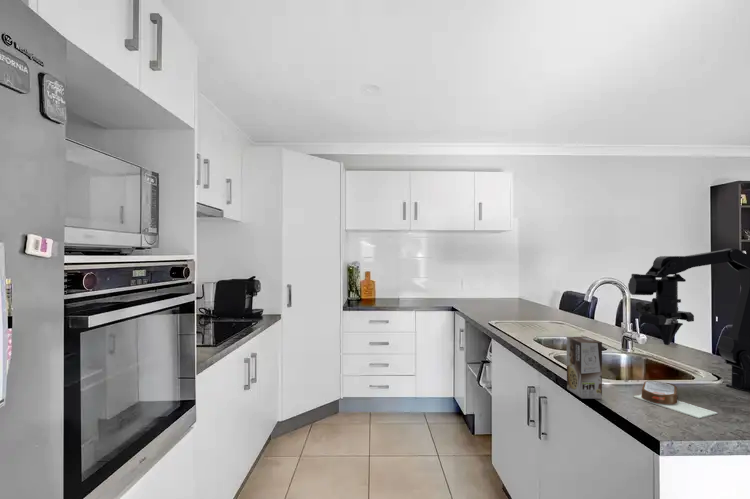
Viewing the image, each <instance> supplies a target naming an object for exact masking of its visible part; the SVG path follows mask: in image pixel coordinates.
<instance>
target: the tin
mask: <svg viewBox="0 0 750 499" xmlns="http://www.w3.org/2000/svg"><path fill="white" fill-rule="evenodd" d="M640 395H641V397H642V398H643V399H645V400H647V401H650V402H654V403H659V404H676V403H677V400H678V396H679V395H678V386H676V385H675V384H673V383H669V382H661V381H656V380H645V381H644V382H643V385H642V388H641V394H640ZM647 401H646V402H647ZM650 402H649V403H650Z"/></svg>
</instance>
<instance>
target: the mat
mask: <svg viewBox="0 0 750 499" xmlns="http://www.w3.org/2000/svg"><path fill="white" fill-rule="evenodd" d="M641 395H642V394H638V395H633V398H635V399H638V400H641V401H644V402H647V403H650V404H653V405H656V406H659V407H662V408H666V409H668V410H671V411H675V412H678V413H681V414H683V415H687V416H690V417H693V418H696V419H700V420H701V419H703V418H707V417H711V416H714V415H718V413H719V412H716V411H714V410H710V409H706V408H704V407H700V406H697V405H694V404H690V403H687V402H684V401H680V400H678V399H677V403H676V404H659V403H654V402H650V401H647V400H645V399H643V398H642V397H641Z"/></svg>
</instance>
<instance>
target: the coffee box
mask: <svg viewBox="0 0 750 499" xmlns="http://www.w3.org/2000/svg"><path fill="white" fill-rule="evenodd" d="M565 339H566V389H567V390H568V391H569V392H571V393H573V394H574V395H576V396H577V397H579V398H580V399H599V400H600V399H601V400H602V398H603V342H602V341H599V340H596V339H594V338H592V337H588V336H566V338H565Z"/></svg>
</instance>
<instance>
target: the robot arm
mask: <svg viewBox="0 0 750 499" xmlns="http://www.w3.org/2000/svg"><path fill="white" fill-rule="evenodd" d="M722 263H727V264H728V265H729V266H730V267H731V268H732V269H734V270H735V271H736V272H738V276H737V278H738V282H739V286H740V287H741V289H740V293H739V295H738V296H739V297H738V301H737V304H736V309H735V314H734V317H733V318H734V319H733V321H732V326H731V329H730V332H729V333H728V334H727V336H725V335H720V337H719V343H718V345H717V346H716V347H717V348H718V351H719V352H718V353H719V354H720V356H721V358H723V360H724V362H725V364H726V365H729V366H730V368H731V373H730V374H731V381H730V383H726V384H725V386H726V387H730V388H734V389H739V390H742V391H745V392H750V254H748V253H745V252H743V251H742V250H740V249H739V248H723V249H719V250H714V251H713V250H712V251H709V252H702V253H696V254H690V255H674V256H673V255H664V256H663V255H660V256H657V257H656V258H655V259H654V260H653V262H652V265H651V267H650V268H649V269H648V271H647V272H646V273H645V274H639V273H631V276H630V279H629V281H628V286H627V288H628V292H629V294H630V295H632V296H653V295H654V294H655V297H653V298H651V302H650V303H645V302H644V301H637V302H635V307H634V308H635V309H634V311H635V312H637V313H638V314H639V316H638V322H639V323H642V324H643V323H644V324H648V325H649V324H650V325H653V326H655V327H656V328H657V330H658V331H659V334H660V337H661V339H662V342H663V344H664V345H666V346H669V345H670V344H671V342H672V341H673V340H674V339H673V338H674V337H675V336H676V334H677V333H678V331H679V330H680V328H681V326H683V325H684V324H683V322H682V323H681V322H679V320H681V321H686V322H688V323H689V322H694V321H695V316H694V314H693V313H692V312H691V311H683V310H682V311H681V310H679V307H678V306H679V305H678V303H682V299H681V298H678V292H679V291H678V290H679V286H678V285H679V284H678V283H681V282H682V283H683V282H686V279H685V278H683V276H681V274H680V273H682V272H685V271H687V270H689V269H693V268H697V267H702V266H711V265H717V264H722Z"/></svg>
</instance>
